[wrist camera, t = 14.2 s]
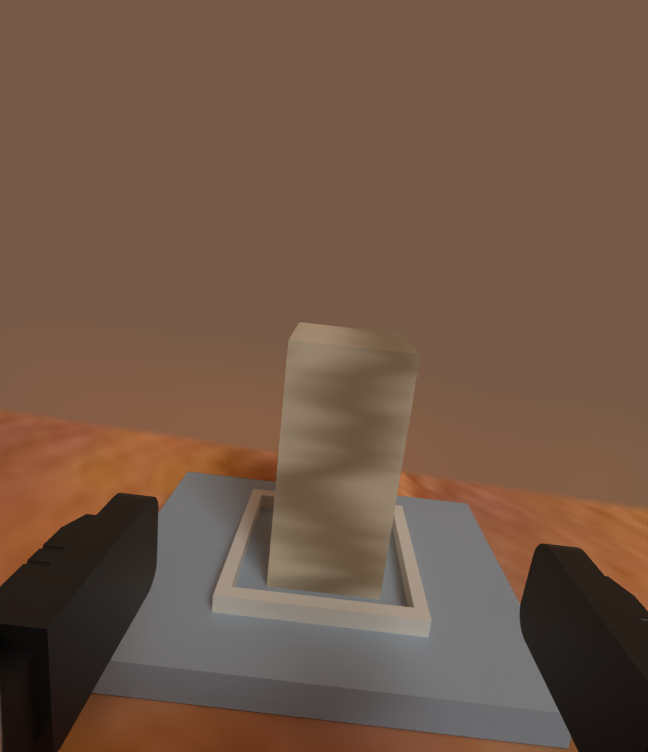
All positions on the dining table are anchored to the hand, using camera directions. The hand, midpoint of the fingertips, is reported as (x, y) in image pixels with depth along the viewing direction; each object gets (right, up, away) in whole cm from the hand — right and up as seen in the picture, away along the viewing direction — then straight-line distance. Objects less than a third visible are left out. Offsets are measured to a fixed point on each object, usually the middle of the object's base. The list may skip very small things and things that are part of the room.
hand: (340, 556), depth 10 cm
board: (-1, -6, +13) cm, 15 cm away
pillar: (0, -5, +13) cm, 14 cm away
